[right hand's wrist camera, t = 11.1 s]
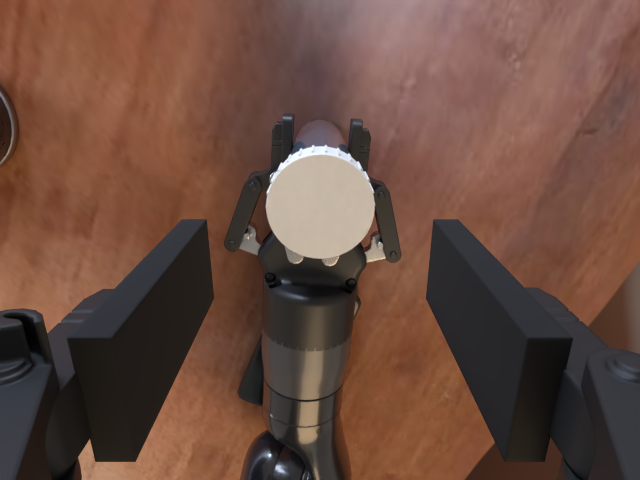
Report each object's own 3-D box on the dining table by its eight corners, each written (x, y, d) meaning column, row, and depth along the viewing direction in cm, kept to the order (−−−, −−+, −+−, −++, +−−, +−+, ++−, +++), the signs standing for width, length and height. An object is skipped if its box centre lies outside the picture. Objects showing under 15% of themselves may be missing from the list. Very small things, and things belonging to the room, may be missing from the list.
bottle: (333, 111, 37) (347, 145, 19) (350, 157, 38) (379, 230, 20) (288, 130, 38) (259, 180, 19) (306, 174, 39) (295, 261, 21)
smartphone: (304, 415, 48) (364, 295, 43) (303, 421, 47) (365, 299, 42) (235, 393, 47) (288, 267, 42) (234, 398, 46) (288, 271, 41)
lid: (349, 128, 20) (353, 134, 18) (384, 222, 22) (391, 238, 20) (253, 167, 21) (245, 177, 19) (293, 255, 23) (290, 275, 20)
